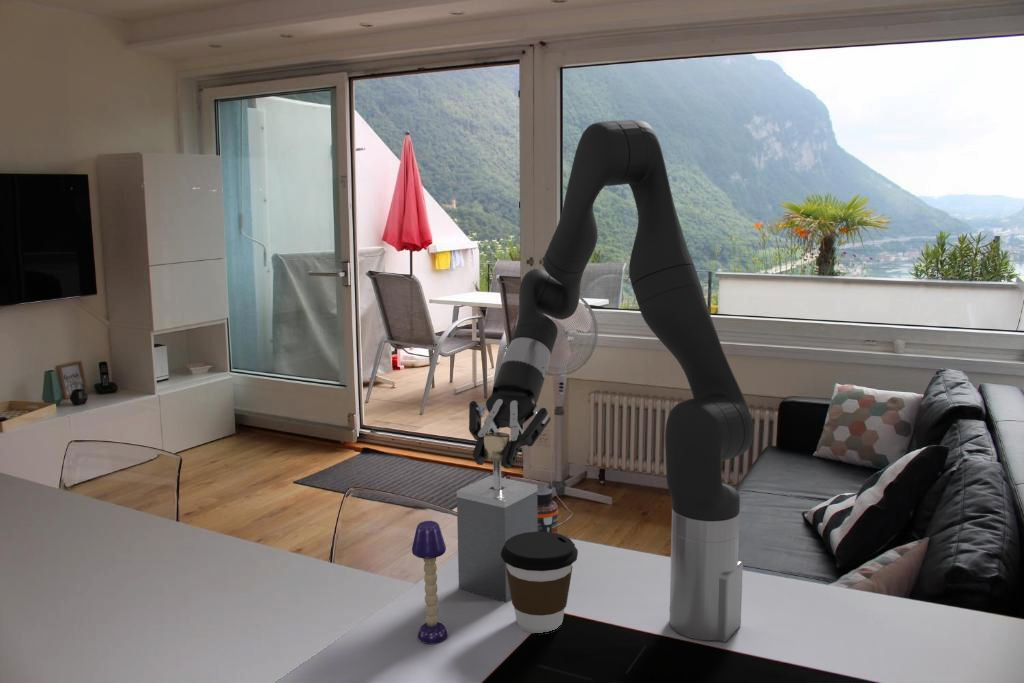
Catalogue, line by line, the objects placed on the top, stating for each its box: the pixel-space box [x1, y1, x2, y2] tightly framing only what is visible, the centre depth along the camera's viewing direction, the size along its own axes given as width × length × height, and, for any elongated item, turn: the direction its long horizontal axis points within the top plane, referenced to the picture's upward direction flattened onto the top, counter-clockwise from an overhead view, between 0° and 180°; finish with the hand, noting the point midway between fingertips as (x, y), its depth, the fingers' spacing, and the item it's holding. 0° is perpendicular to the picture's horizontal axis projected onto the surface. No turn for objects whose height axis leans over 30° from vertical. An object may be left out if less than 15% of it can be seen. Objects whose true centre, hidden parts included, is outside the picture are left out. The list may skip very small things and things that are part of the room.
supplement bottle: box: [537, 487, 559, 534], centre depth 147 cm, size 6×6×11 cm
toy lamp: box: [411, 520, 449, 645], centre depth 118 cm, size 5×5×17 cm
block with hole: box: [456, 475, 538, 603], centre depth 135 cm, size 9×9×16 cm
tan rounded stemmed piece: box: [484, 431, 511, 491], centre depth 134 cm, size 7×7×18 cm
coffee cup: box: [501, 532, 579, 634], centre depth 122 cm, size 11×11×12 cm
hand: (491, 463), depth 131 cm, fingers closed on tan rounded stemmed piece, 4 cm apart
